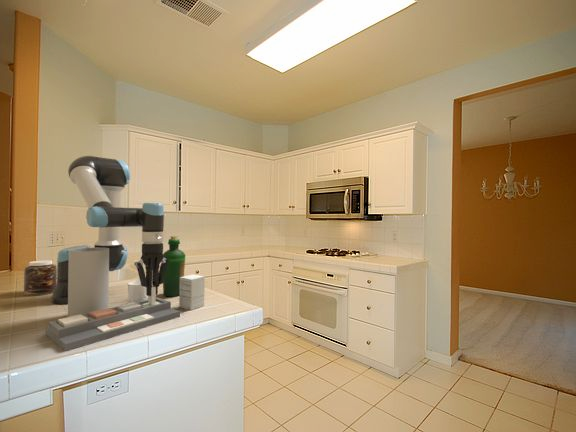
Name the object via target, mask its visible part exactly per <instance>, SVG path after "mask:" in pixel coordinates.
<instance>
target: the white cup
mask: <svg viewBox="0 0 576 432" xmlns="http://www.w3.org/2000/svg"><path fill="white" fill-rule="evenodd" d="M127 294H128V295H127V296H128V297H127V299H128V303H133V302H134V303H135V302H139V301H144V300H148V296H147V295H146V287H144V286H141V282H140V280H133V281H130V282H128V283H127Z"/></svg>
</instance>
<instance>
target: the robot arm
mask: <svg viewBox="0 0 576 432" xmlns="http://www.w3.org/2000/svg"><path fill="white" fill-rule="evenodd" d="M67 171H68V172H67V173H68V177H69V179H70V181H71V182H72V183H73V184H75V185H76V187H77V188H78V190H79V192H80V194H81V196H82V198H83V199H84V202H85V204H86V205H87V207H88V209H87V210H86V213H85V215H86V216H85V217H86V218H85V219H86V224H87V225H88V226H89V227H92V228H98V240H97V241H96V242H94V247H93V248H109V272H114V271H119V270H121V269H123V268H124V266H125V265H126V262H127V260H128V251H127V248H126V247H125V246H124V245H123V242H122V241H121V240H120V232H121V231H120V228H128V227H130V228H137V227H139V228H140V227H141V242H142V244H141V257H140V259H138V261H135V262H134V264H133V265H134V266H135V267H136V270H137V274H138V278H139V281H140V282H141V286H144V287H146V295H147V296H148V304H151V305H153V304H156V298H157V297H156V295H158V293H159V292H158V291H159V287H160V285H163V280H164V275H165V271H166V267H167V264H168V262H169V259H166V258H164V255H163V254H164V243H163V242H164V223H165V212H164V210H165V209H164V204H163V203H162V202H143V204H142V207H121V197H122V191H123V190H124V189H125V186H127V185H128V184H130V180H131V172H130V168H129V166H128V163H126V162H125V161H123V160H120V159H116V158H106V157H100V156H94V155H83V156H80V157H78V158H76V159H74V160H73V161H72V162H71V163H70V165H69V167H68V170H67ZM79 248H91V246H90V245H88V244H87V245H85V244H84V245H76V246H71V247H65V248H62V249H60V250H59V251H58V253H57V259H56V263H57V265H56V267H57V285H56V288H55V290H54V293H52V296H51V303H52V304H58V305H65V304H66V305H68V267H69V250H71V249H79ZM143 266H144V267H145V269H144V267H143Z"/></svg>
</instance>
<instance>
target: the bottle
mask: <svg viewBox="0 0 576 432" xmlns="http://www.w3.org/2000/svg"><path fill="white" fill-rule="evenodd" d="M180 244H181V242H180V238H178V236H176V235H175V236H174V235H172V236H170V238H169V239H168V242H167V245H168V246H169V247H168V248H169V249H167V250H166V251H165V252H163V255H164V258H166V259H169V262H168V264H167V267H166V271H165V275H164V280H163V283H162V291H163V293H162V294H163V296H165V297H168V298H170V297H171V298H173V297H178V296H179V297H180V277H184V276H185V266H186V254H185V253H184V251H183V250H181V249H180V248H179V247H180Z"/></svg>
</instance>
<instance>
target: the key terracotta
mask: <svg viewBox="0 0 576 432" xmlns="http://www.w3.org/2000/svg"><path fill="white" fill-rule="evenodd" d="M110 308H111V307H108V308H106V309H102V310H97V311H93V312H89V316H90V317H92V318H94V319H99V318H103V317H107V316H111V315H116V311H115V310H112V309H110Z"/></svg>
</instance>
